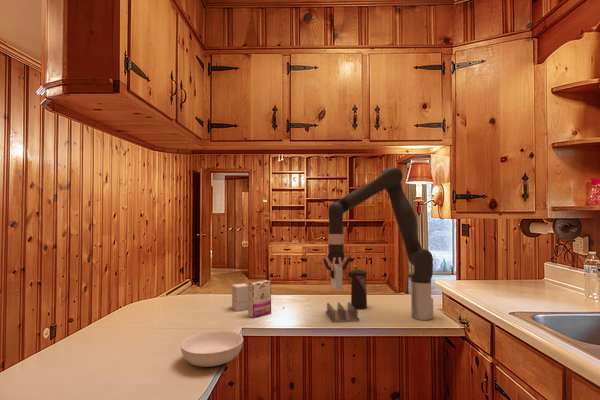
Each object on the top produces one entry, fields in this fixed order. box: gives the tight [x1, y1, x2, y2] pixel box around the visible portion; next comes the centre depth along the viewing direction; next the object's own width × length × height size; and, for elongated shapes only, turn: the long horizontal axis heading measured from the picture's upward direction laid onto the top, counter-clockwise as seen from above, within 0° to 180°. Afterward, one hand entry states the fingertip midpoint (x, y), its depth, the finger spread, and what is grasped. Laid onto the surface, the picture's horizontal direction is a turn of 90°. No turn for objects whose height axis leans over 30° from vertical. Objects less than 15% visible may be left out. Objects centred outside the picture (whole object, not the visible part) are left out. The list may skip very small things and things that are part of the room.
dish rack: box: [325, 301, 360, 323], centre depth 168 cm, size 13×16×5 cm
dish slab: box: [330, 264, 343, 291], centre depth 168 cm, size 3×12×10 cm, turn 7°
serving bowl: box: [180, 329, 244, 368], centre depth 119 cm, size 21×21×7 cm
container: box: [349, 269, 368, 310], centre depth 184 cm, size 9×9×20 cm
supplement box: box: [231, 283, 248, 312], centre depth 182 cm, size 7×7×13 cm
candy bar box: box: [247, 279, 272, 319], centre depth 171 cm, size 11×5×16 cm, turn 132°
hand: (336, 278), depth 168 cm, fingers closed on dish slab, 3 cm apart
